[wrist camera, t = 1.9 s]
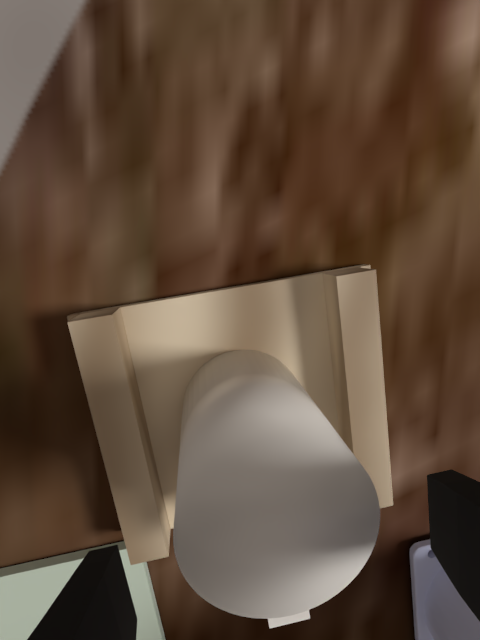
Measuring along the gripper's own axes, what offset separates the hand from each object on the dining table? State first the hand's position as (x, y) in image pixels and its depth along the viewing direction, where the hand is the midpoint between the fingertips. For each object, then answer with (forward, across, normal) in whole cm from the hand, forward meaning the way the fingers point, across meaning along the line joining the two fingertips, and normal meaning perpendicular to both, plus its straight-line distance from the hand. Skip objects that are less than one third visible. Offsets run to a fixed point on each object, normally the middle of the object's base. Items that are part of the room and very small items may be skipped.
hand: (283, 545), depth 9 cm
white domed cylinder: (+7, 0, 0) cm, 7 cm away
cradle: (+8, 0, 0) cm, 8 cm away
